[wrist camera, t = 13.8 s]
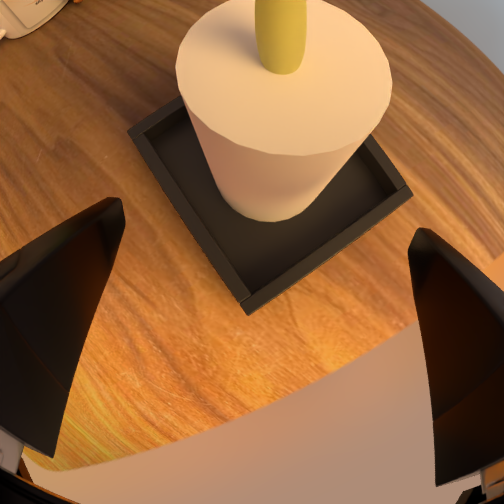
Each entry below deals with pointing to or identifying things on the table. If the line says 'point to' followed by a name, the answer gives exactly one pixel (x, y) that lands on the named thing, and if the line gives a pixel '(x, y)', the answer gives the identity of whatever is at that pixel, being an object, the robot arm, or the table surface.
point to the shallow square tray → (259, 232)
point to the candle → (280, 98)
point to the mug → (26, 15)
